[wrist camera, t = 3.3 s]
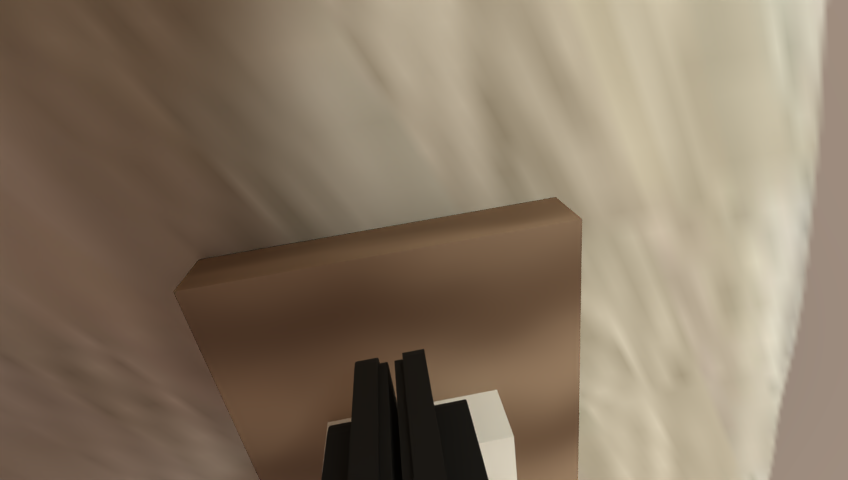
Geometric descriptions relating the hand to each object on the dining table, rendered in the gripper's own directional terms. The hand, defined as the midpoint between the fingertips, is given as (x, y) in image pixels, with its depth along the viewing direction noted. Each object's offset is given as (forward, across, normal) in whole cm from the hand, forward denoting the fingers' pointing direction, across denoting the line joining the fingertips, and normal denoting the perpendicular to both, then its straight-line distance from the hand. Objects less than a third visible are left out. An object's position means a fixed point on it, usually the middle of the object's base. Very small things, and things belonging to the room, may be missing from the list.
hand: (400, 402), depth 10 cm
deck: (+6, 0, +6) cm, 8 cm away
